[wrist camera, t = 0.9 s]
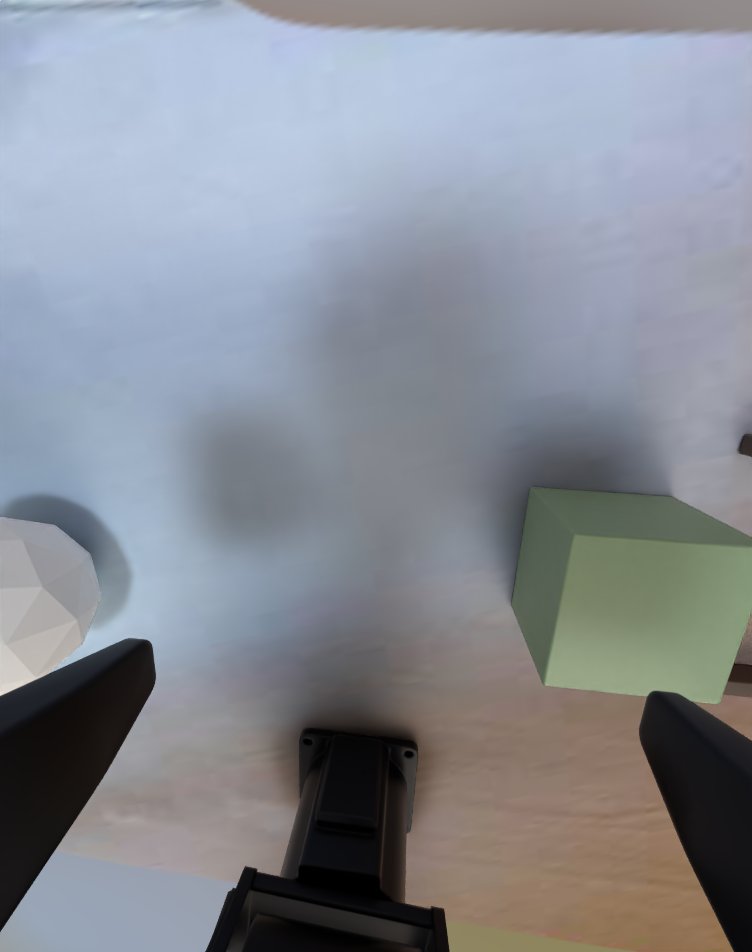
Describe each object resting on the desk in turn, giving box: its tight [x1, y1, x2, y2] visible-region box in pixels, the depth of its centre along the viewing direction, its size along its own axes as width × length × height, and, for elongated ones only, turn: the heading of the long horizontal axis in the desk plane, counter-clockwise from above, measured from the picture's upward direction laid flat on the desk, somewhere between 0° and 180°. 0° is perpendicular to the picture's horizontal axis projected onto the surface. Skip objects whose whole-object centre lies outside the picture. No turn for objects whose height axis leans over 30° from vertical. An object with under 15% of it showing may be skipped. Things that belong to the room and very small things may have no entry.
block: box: [511, 487, 752, 704], centre depth 16 cm, size 6×6×5 cm
